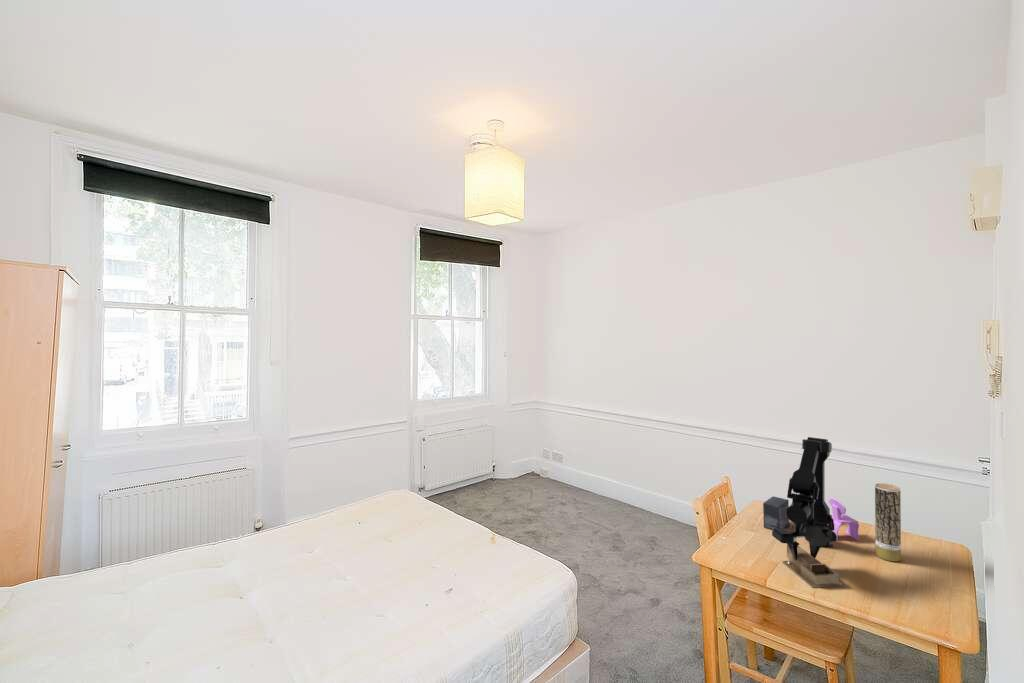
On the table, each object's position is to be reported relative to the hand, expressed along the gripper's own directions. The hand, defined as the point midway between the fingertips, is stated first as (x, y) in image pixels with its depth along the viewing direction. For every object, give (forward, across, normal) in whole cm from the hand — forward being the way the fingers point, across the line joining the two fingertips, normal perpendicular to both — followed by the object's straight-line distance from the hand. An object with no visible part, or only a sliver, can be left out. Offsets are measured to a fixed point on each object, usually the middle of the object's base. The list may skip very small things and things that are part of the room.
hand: (804, 559), depth 151 cm
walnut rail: (+2, 0, 0) cm, 2 cm away
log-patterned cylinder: (+3, +33, +5) cm, 34 cm away
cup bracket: (+3, 0, -3) cm, 4 cm away
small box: (+3, +10, +32) cm, 34 cm away
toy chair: (+3, +29, +21) cm, 36 cm away
